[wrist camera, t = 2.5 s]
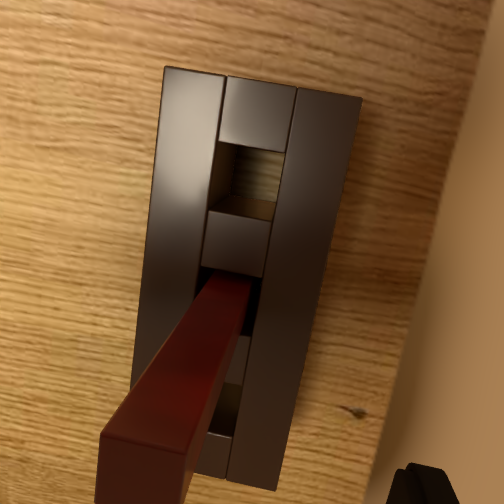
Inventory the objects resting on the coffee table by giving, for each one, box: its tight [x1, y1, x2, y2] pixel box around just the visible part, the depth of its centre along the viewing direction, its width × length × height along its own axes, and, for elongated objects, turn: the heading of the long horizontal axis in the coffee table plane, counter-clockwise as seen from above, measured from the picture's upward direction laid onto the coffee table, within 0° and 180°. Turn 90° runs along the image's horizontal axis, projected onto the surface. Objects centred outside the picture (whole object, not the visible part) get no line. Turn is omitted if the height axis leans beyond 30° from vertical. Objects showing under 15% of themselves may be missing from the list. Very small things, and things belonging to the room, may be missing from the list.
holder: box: [130, 66, 363, 492], centre depth 19 cm, size 7×16×5 cm, turn 170°
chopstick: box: [94, 269, 258, 504], centre depth 14 cm, size 2×2×14 cm
